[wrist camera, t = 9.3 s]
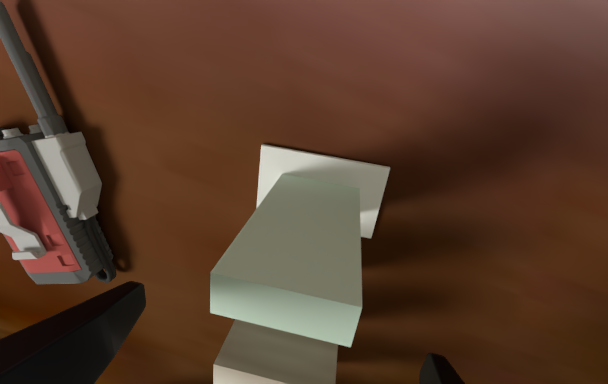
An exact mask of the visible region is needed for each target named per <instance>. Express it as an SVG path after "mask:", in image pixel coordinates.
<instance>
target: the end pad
mask: <svg viewBox="0 0 608 384" xmlns="http://www.w3.org/2000/svg"><path fill="white" fill-rule="evenodd" d="M389 171H390V167H388V166H382V165H376V164H371V163H365V162H360V161H354V160H349V159H343V158H337V157H332V156H326V155H321V154H315V153H310V152H304V151H298V150H293V149H287V148H282V147H276V146H271V145H265V144H262V145H261V156H260V169H259V182H258V195H257V208H258V206H259V205H260V203H261V202H262V201H263V199H264V198H265V197H266V195H267V194H268V192H269V191H270V190H271V188H272V187H273V186H274V184H275V183H276V181H277V180H278V179H279V177H280V176H281V174H287V175H292V176H297V177H302V178H308V179H313V180H318V181H323V182H328V183H334V184H339V185H344V186H349V187H355V188H360V226H361V237H365V238H370V239H371V237H372V234H373V230H374V226H375V223H376V219H377V215H378V212H379V208H380V204H381V201H382V197H383V193H384V190H385V186H386V182H387V179H388V175H389ZM257 208H256V209H257Z"/></svg>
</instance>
